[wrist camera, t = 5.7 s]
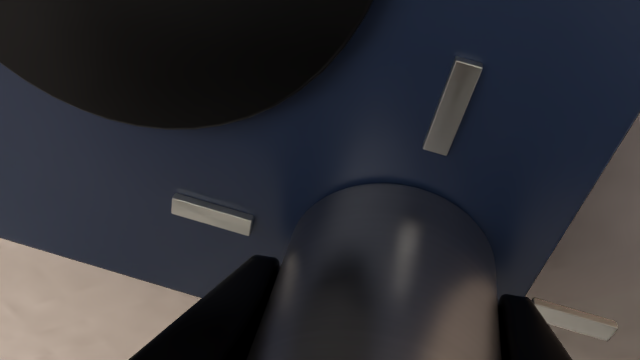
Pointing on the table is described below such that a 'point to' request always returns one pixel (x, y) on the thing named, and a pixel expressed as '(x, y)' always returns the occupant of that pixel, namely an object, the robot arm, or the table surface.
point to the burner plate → (174, 54)
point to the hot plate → (346, 146)
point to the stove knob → (383, 282)
